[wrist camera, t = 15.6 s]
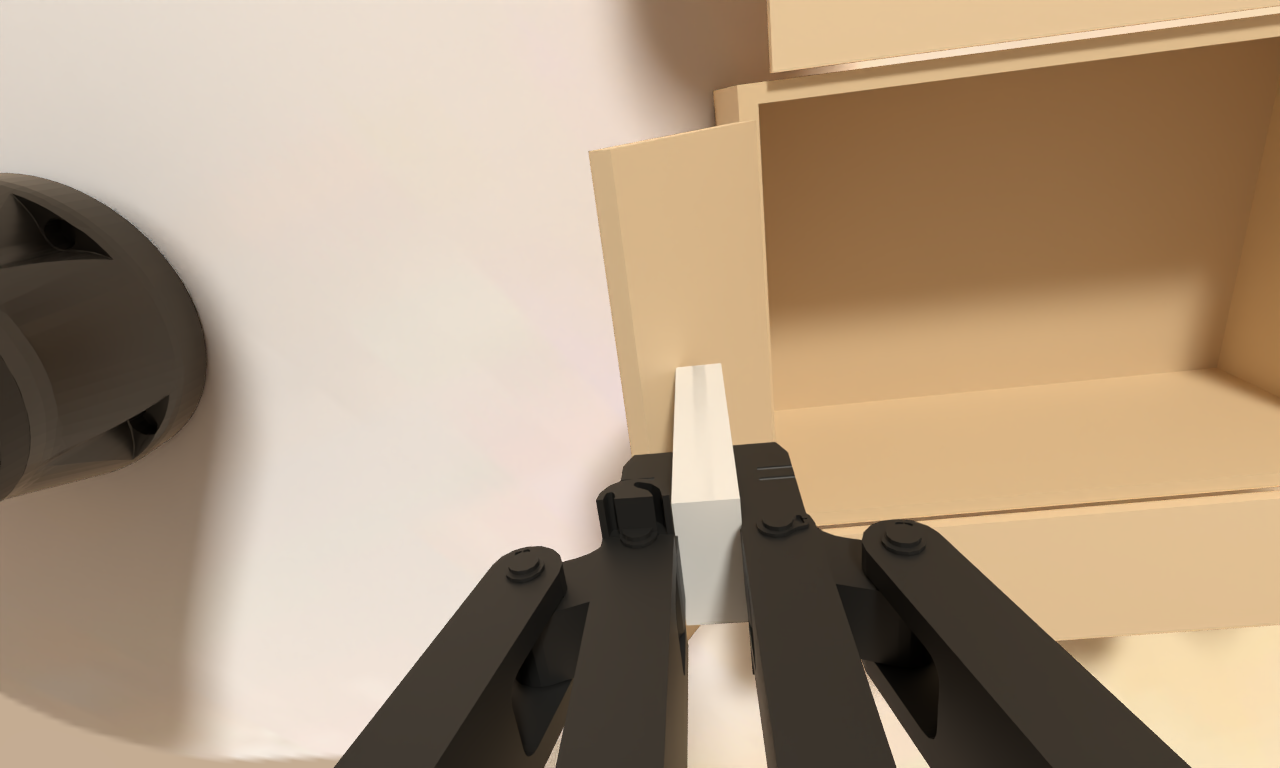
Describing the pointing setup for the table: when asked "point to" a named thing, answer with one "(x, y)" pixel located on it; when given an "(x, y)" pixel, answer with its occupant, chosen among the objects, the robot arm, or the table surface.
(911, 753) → the table surface
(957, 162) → the carton
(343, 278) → the table surface
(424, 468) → the table surface
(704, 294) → the flap
